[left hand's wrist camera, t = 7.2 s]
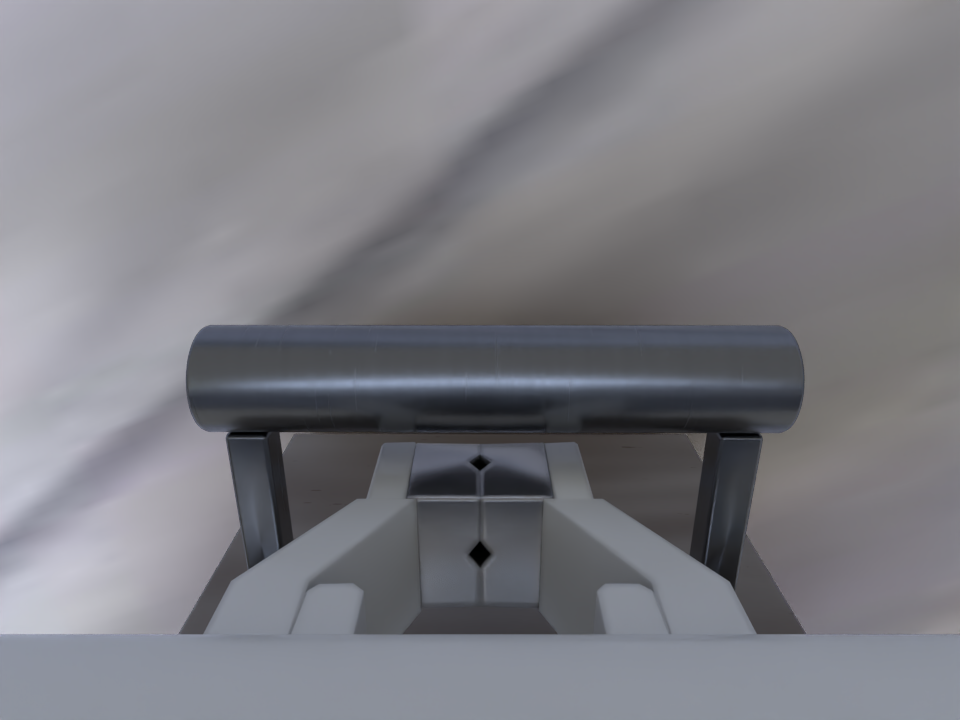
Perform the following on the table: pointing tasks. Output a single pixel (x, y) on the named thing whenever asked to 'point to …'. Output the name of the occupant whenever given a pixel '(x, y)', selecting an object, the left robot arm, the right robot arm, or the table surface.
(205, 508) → the table surface
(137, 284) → the table surface
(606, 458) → the drawer
